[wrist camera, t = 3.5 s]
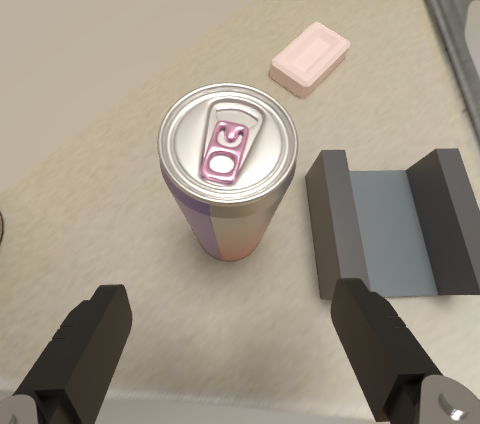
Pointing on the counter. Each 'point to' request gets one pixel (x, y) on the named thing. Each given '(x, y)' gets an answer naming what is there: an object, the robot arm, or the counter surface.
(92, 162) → the counter surface
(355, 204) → the duct channel
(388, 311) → the robot arm
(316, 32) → the soap bar
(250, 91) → the beverage can
